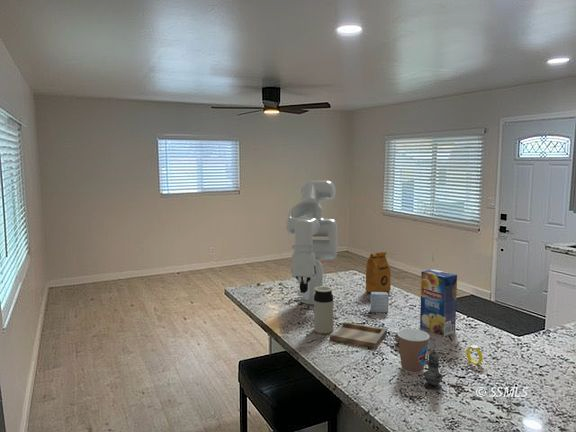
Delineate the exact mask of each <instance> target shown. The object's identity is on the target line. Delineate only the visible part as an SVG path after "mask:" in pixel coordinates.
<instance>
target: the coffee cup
mask: <svg viewBox="0 0 576 432" xmlns="http://www.w3.org/2000/svg"><path fill="white" fill-rule="evenodd" d="M397 332H398V333H397ZM397 332H396V333H397V334H398V338H399V343H398V346H399V357H400V366H401V369H402V370H403V371H405V372H406V373H410V374H420V373H422V372H423V371H424V368H425V363H426V357H427V350H428V344H429V339H430V334H429V333H427V332H426V331H425V330H421V329H417V328H416V329H415V328H404V329H403V328H402V329H400V330H398V331H397Z"/></svg>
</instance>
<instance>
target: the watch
mask: <svg viewBox="0 0 576 432" xmlns="http://www.w3.org/2000/svg"><path fill="white" fill-rule="evenodd" d="M471 350H473V351H475V352H477V355H478V362H477V361H475V360H473V359H472V357H471V353H470V352H471ZM465 352H466V354H465V355H466V357H467V359H468V361H469V363H472V364H473V365H476V366H477V365H480V364H482V362H483V354H482V351H481V349H480V346H478V344H477V345H476V344H471V345H469V346H468V347H467V348H466V351H465Z"/></svg>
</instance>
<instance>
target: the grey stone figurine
mask: <svg viewBox="0 0 576 432" xmlns="http://www.w3.org/2000/svg"><path fill="white" fill-rule="evenodd" d="M439 359H440V358H439V353H438V352H437V351H436V349H435V348H433V349H432V351H430V352H429V353H428V361H427V362H426V363H427V365H428V368H427V370H426V371H424V372H423V373H422V375H423V376H424V377H423V378H424V380H425V382H424V383H423V386H424V388H425V389H428V390H430V391H435V392H437V391H441V390H442V388H443V387H442V385H441V383H442V381H443V379H444V375H443V373H441V372H439V367H440V363H439Z"/></svg>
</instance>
